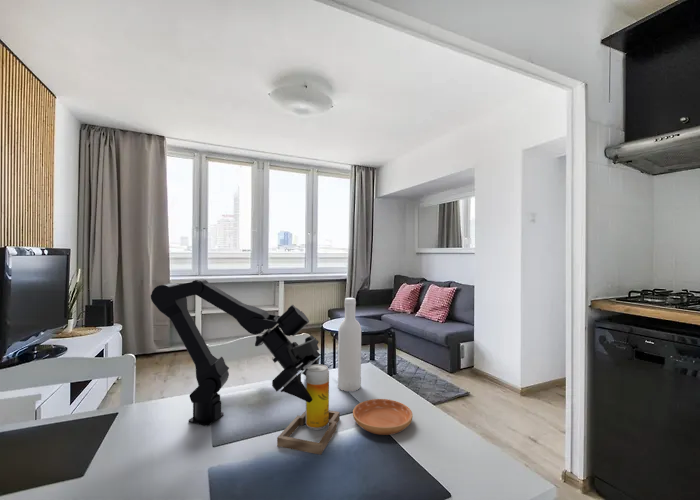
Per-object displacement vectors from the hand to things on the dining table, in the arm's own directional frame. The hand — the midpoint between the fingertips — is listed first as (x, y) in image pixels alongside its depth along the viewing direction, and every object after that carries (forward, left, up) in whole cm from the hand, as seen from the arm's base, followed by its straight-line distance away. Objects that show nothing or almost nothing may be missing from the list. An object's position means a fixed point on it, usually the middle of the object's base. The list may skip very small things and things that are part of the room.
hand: (318, 393), depth 86 cm
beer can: (0, 0, -8) cm, 8 cm away
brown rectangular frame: (0, -3, -8) cm, 9 cm away
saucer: (+16, +7, -9) cm, 19 cm away
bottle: (+1, +26, -8) cm, 27 cm away
